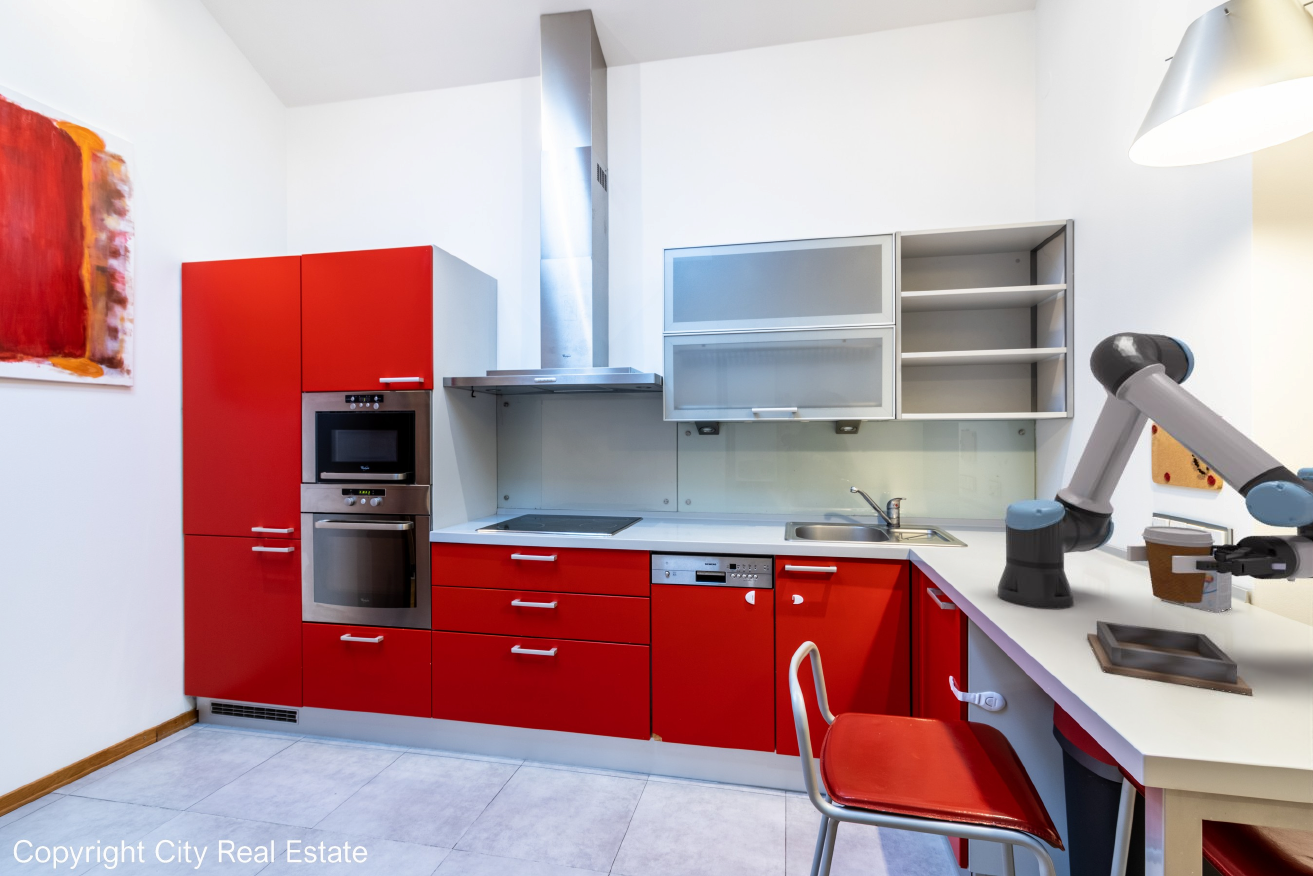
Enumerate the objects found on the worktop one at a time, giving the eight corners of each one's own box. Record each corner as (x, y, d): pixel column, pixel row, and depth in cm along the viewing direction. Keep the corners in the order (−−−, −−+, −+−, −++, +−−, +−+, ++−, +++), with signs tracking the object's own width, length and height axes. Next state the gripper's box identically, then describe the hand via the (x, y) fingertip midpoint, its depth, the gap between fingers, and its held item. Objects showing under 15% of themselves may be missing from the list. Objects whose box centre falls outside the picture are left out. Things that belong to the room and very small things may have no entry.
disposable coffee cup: (1144, 600, 100) (1144, 531, 100) (1138, 588, 108) (1138, 524, 108) (1220, 610, 94) (1220, 536, 94) (1208, 596, 102) (1208, 528, 102)
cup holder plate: (1103, 671, 96) (1103, 648, 96) (1087, 638, 112) (1087, 617, 112) (1252, 695, 87) (1252, 669, 87) (1211, 655, 103) (1211, 633, 103)
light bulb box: (1159, 600, 137) (1159, 555, 137) (1174, 597, 140) (1174, 552, 140) (1218, 613, 127) (1218, 564, 127) (1233, 609, 130) (1233, 561, 130)
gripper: (1349, 595, 91) (1210, 597, 90) (1215, 564, 112) (1102, 566, 111) (1349, 547, 91) (1210, 549, 90) (1215, 526, 112) (1102, 527, 111)
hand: (1150, 558), depth 101 cm, fingers closed on disposable coffee cup, 8 cm apart
